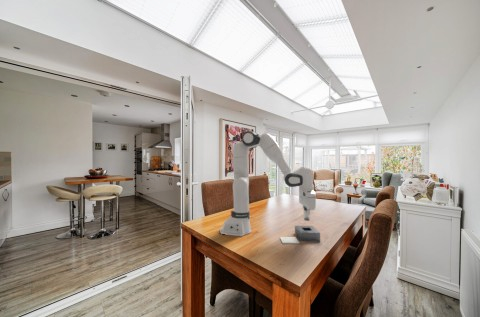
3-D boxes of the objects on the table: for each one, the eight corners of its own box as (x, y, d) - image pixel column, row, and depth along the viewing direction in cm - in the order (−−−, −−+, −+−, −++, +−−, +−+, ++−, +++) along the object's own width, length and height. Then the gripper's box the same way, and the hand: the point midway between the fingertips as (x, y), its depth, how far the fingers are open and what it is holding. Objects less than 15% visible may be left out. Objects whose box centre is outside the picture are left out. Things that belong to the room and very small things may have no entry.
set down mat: (282, 243, 103) (282, 242, 104) (279, 237, 111) (279, 237, 112) (299, 243, 103) (299, 242, 103) (295, 238, 111) (295, 237, 111)
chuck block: (300, 240, 107) (300, 232, 107) (295, 233, 119) (294, 225, 119) (320, 240, 107) (320, 232, 107) (312, 233, 119) (312, 225, 119)
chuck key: (305, 220, 112) (304, 206, 112) (303, 218, 115) (302, 205, 115) (310, 220, 111) (310, 206, 112) (308, 218, 115) (308, 205, 115)
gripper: (296, 189, 124) (297, 209, 124) (306, 194, 104) (307, 218, 103) (305, 189, 124) (305, 209, 124) (317, 194, 104) (318, 217, 103)
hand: (306, 213), depth 113 cm, fingers closed on chuck key, 4 cm apart
